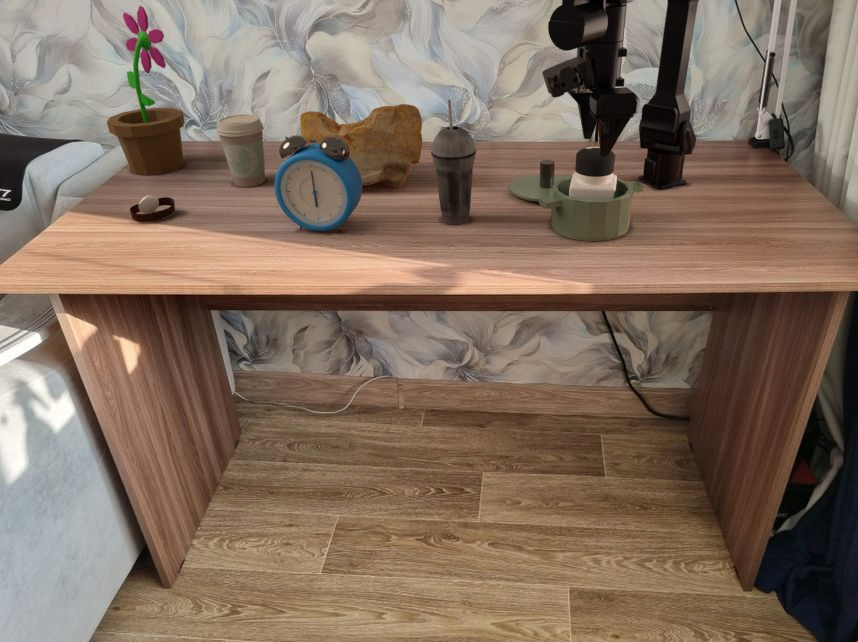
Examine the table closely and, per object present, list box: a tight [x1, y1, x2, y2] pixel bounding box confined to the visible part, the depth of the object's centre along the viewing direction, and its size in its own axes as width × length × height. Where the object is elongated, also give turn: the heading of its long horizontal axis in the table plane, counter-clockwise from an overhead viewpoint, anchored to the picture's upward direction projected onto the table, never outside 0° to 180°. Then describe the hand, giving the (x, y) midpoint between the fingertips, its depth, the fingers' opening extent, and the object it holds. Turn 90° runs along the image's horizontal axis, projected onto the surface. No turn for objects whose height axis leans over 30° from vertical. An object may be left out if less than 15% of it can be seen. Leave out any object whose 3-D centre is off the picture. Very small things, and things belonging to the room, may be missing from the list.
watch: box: [129, 194, 176, 223], centre depth 126 cm, size 8×5×4 cm, turn 135°
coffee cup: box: [216, 113, 266, 188], centre depth 139 cm, size 8×8×12 cm
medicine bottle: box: [569, 146, 618, 200], centre depth 117 cm, size 7×7×12 cm
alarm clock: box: [274, 135, 363, 233], centre depth 118 cm, size 13×6×15 cm, turn 81°
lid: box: [508, 159, 569, 203], centre depth 132 cm, size 14×14×6 cm
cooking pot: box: [538, 175, 644, 242], centre depth 118 cm, size 13×18×6 cm
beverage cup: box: [430, 99, 477, 226], centre depth 118 cm, size 7×7×20 cm
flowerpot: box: [106, 5, 186, 176], centre depth 143 cm, size 14×14×30 cm
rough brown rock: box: [299, 103, 423, 188], centre depth 138 cm, size 23×17×15 cm
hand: (595, 147), depth 113 cm, fingers open, 9 cm apart
